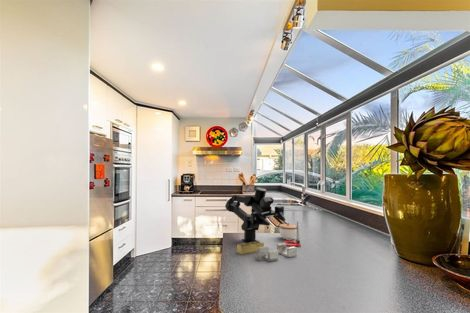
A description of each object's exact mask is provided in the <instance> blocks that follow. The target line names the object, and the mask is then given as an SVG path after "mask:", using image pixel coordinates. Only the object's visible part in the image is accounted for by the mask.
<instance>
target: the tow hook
mask: <svg viewBox="0 0 470 313" xmlns="http://www.w3.org/2000/svg"><path fill="white" fill-rule="evenodd" d="M296 226H297V233H296V236H295V238H296V240H295V241H293V240H285V241H283V242H282V243H286V247H293V246H294V247H301V246H302V245H301V240H300V230H299V229H300V228H299V227H300V226H299V221H296Z"/></svg>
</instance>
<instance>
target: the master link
mask: <svg viewBox="0 0 470 313" xmlns="http://www.w3.org/2000/svg"><path fill="white" fill-rule="evenodd" d="M264 246H265V243H264V241H261V240H257V241H256V242H250V243H248V242H241V243H239V244H238V243H237V246H236V253H237V254H240V255H245V254H251V253H256V252H257V251H258V247H264ZM257 253H258V252H257Z"/></svg>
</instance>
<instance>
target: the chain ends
mask: <svg viewBox="0 0 470 313" xmlns="http://www.w3.org/2000/svg"><path fill="white" fill-rule="evenodd" d="M286 244H287V243H283V242H282V243H276V249H273V250H269V248H270V247H269V246H268V245H264V247H258V252H257V253H256V260H258V261H259V262H263V261H267V262H269V263H270V262H276V261H279V255H282V256H285V257H286V258H292V257H297V251H298V250H297V246H292V247H291V246H286Z"/></svg>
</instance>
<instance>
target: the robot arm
mask: <svg viewBox="0 0 470 313" xmlns="http://www.w3.org/2000/svg"><path fill="white" fill-rule="evenodd" d="M254 191H255V192H254V195H250V196H249V195H247V196H245V195H241V194H233V195H232V196H231V197H230V198H229V199H228V200H227V201H226V202H225V205H224V206H225V210H226V211H227V212H231V213H234V214H235V215H236V216H237V217H238V218H239V219H240V220H242V221H243V223H242V224H241V226H240V227H241V230H242V231H244V233H243V236H244V237H243V238H242V239H241V241H244V243H250V242H256V241H258V240H257V239H256V237H257V236H256V231H259V228H260V226H270V225H271V224H270V222H269V221H268V220H267V219H270V218H271V217H275V218H277V220H280V221H282V222H286V218H285V216H284V214H285V207H284V206H283V205H282V204H279V205H276V206H274V210H272V206H271V205H272V204H273V203H274V200H275V199H274V198H273V197H271V196H266V194H267V189H266V188H264V187H260V186H256V187H255V190H254ZM241 203H242V204H243V205H244V206H245V207H247V208H248V207H251V213H249V214H248V213H247V212H246V211H245V210H243V209H242V208H241V207H240V206H241Z"/></svg>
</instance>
